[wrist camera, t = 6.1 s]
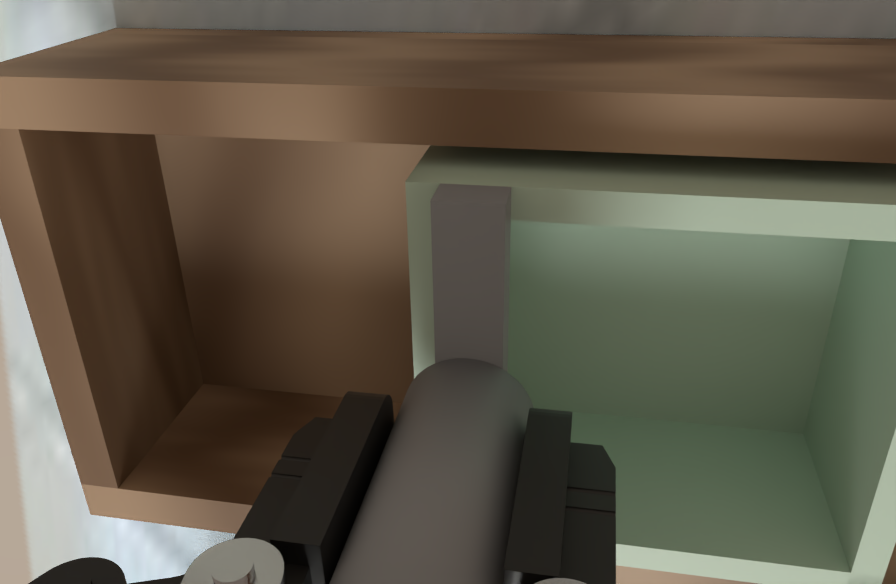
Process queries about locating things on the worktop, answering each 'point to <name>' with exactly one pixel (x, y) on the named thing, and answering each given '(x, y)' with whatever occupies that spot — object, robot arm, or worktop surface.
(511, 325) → the crate
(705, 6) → the worktop surface
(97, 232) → the bay
